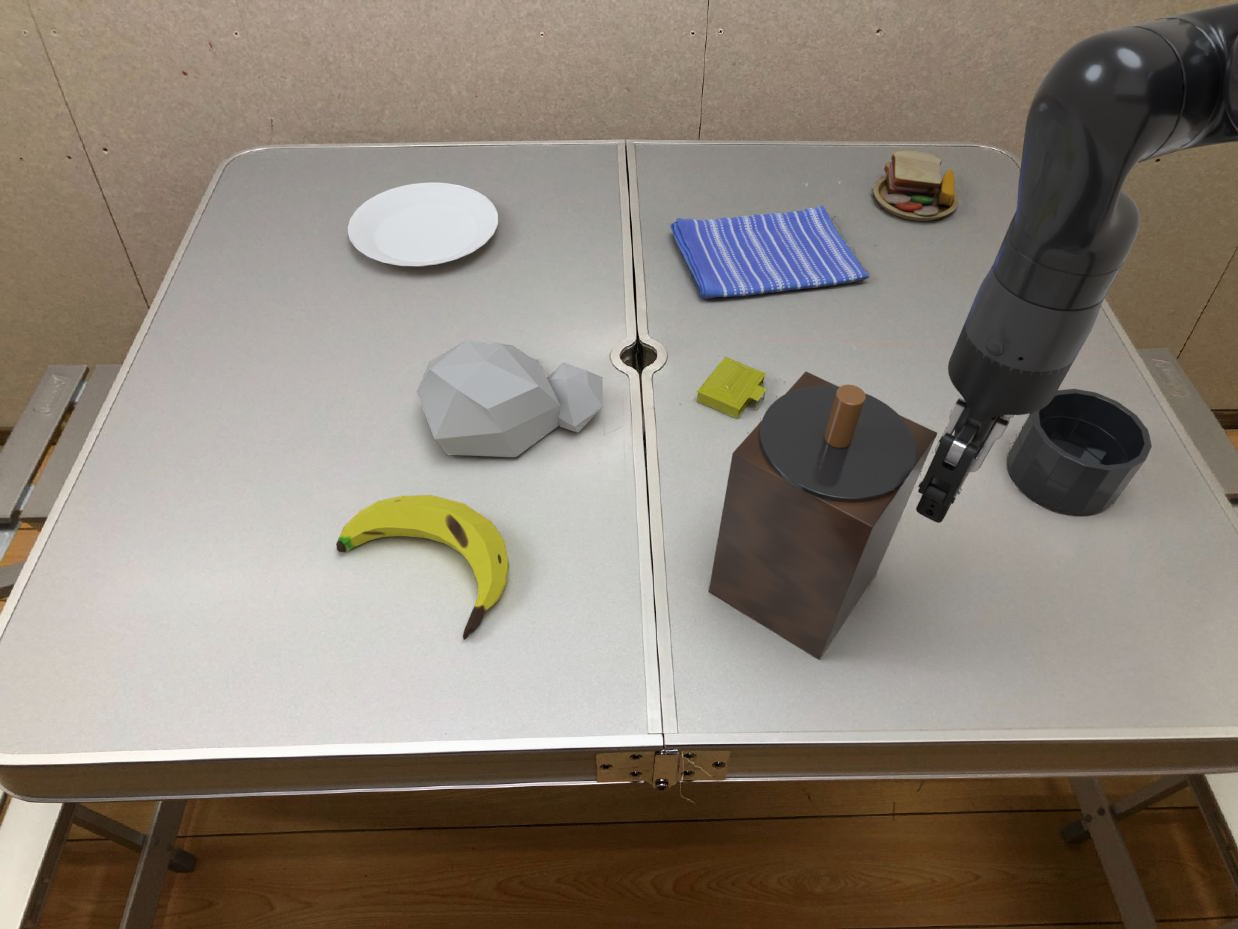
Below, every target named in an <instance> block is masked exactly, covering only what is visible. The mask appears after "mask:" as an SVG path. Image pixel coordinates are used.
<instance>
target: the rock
mask: <svg viewBox="0 0 1238 929" xmlns="http://www.w3.org/2000/svg"><path fill="white" fill-rule="evenodd" d="M603 378H604V377H603V376H600V375H599V374H596V373H594V372H592V371H589V370H586V369H584V368H581V367H578V366H575V365H572V364H569V363H568V362H567V363H566V362H563V363H562V364H560V365H558V367H557V368H556V369H554V370H553V372H551V373H550V374H549V375H548V376H547V375H546V374H545V371H544V369H543V367H542V365H541V362H540V361H539V360H538V359H536V358H534V357H531V356H530V355H528V354H527V353H525V352H523V350H521V349H519V348H518V347H516V346H515V345H512V344H507V343H501V342H483V341H477V340H471V339H466V340H464V341H462V342H460V343H459V344H457V345H455V346H453V347H451V348H450V349H448V350H446V351H445V352H443V353H442V354H440V355H438V356H436V357H435V358H433V359H430V361H429V362H428V364H427V365H426V369H425V370H424V373H423V375H422V378H421V380H420V383H419V384H418V387H417V389H416V393H417V396H418V400H419V402H420V404H421V407H422V411H423V412H424V415H425V416H424V417H425V418H426V421H427V424H428V426H429V429H430V431H431V434H432V437H433V439H434V441H435V442H436V443H437V444H438V446H439V447H440V449H441V450H442V451H443V452H444V453H445V455H446V456H447V455H449V456H450V455H452V456H474V457H477V456H478V457H496V458H497V457H500V458H517V457H518V456H520V455H521V454H523V453H524V452H526V451H527V450H528V449H529V448H531V447H532V446H533V445H535V444H536V443H537V442H539V441H540V440H541V439H543V438H544V437H546V436H547V435H548V434H550V433H551V432H552V431H554V430H555V429H557V428H558V427H560V428H563V429H564V430H565V429H566V430H568V431H572V432H575V433H577V434H578V433H579V432H581V430H582V429H583V428H584V427H585V426H586V425H587V424H588V423H589V422H590V421H591V420H592V419H593V418H594V417H595V416H596V414H597V413H599V411H600V410H601V409H602V408H603V395H604V394H603V393H604V392H603V387H604V386H603V384H604V383H603V382H604V380H603Z"/></svg>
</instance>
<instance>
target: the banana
mask: <svg viewBox="0 0 1238 929" xmlns="http://www.w3.org/2000/svg"><path fill="white" fill-rule="evenodd" d="M385 537H387V538H388V537H409V538H411V537H412V538H422V539H423V538H424V539H427V540H431V541H433V542H438V543H441V544H444V545H447V546H449V547H450V548H452V549H453V550H455V551H456V552H458V553H459V554H461V555H462V556H463V557H464V558H465V560H466V561H467V562H468V564H469V565H470V567H471V568H472V571H473V575H474V576H475V579H476V582H477V598H476V600H475V604H474V606H473V608H472V610H471V612H470V615H469V617H468V619H467V623H466V625H465V627H464V631H463V633H462V639H463V641H465V640H466V639H467V638H469V636H470V635H472V633H474V632H475V631H476V630H477V628H478V627H479V626H480V625H481V623H482V621H483V619H484V616H485V614H486V612H487V611H488V610H489V609H490V608H492V607H493V606H495V604H496V603H497V602H498V601H499V600H500V598H501V596H502V594H503V592H504V590H505V589H506V587H507V581H508V576H509V570H510V563H509V556H508V551H507V546H506V541H505V539H504V538H503V536H502V535H501V533H500V532H499V530H498V528H496V526H495V525H494V523H493V521H492V520H490V519H488V518H487V517H485V516H484V515H482V514H481V513H479V512H478V511H476V510H475V509H474V508H472V507H470V506H469V505H467V504H466V503H463V502H461V501H460V502H459V501H457V500H456V501H455V500H452V499H448V498H444V497H440V496H437V495H432V494H417V495H399V496H394V497H390V498H386V499H382V500H377V501H376V502H374V503H372V504H370V505H368V506H367V507H365V508H363V509H361V510H360V511H358V512H357V513H356V514H355V515H354V516H353V517H352V518H351V519H350V520H349V521H348V522H347V523H346V524H345V525H344V526H343V528H342V529H341V532H340V534H339V536H338V538H337V540H336V543H335V544H336V545H335V546H336V551H338V552H339V553H347V552H348V551H349V550H351V549H354V548H356V547H358V546H360V545H362V544H364V543H367V542H369V541H373V540H376V539H381V538H385Z"/></svg>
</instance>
